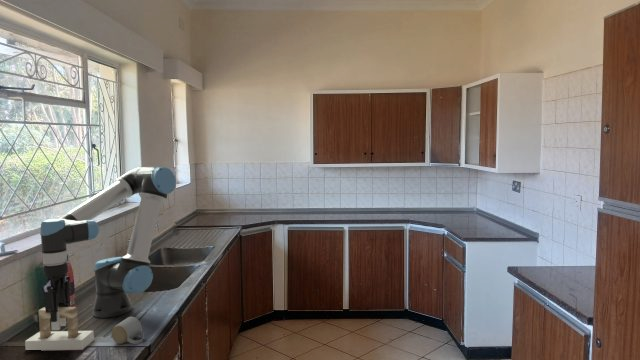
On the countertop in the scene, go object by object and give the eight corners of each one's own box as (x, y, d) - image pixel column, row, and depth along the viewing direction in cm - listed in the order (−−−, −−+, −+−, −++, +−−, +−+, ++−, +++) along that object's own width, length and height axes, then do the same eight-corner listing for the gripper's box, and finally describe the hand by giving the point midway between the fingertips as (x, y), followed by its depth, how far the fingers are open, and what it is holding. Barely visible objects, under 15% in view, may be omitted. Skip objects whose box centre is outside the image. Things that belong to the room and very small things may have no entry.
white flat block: (94, 339, 167) (93, 330, 166) (82, 349, 159) (81, 340, 158) (39, 340, 167) (39, 331, 166) (25, 350, 159) (25, 341, 158)
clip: (78, 336, 164) (76, 306, 163) (74, 340, 161) (72, 309, 160) (45, 337, 164) (43, 307, 163) (40, 340, 161) (38, 310, 160)
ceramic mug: (109, 344, 163) (108, 323, 162) (126, 334, 170) (125, 315, 170) (134, 348, 159) (133, 326, 159) (149, 338, 167) (148, 318, 167)
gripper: (57, 257, 168) (61, 319, 170) (29, 269, 152) (34, 337, 154) (77, 257, 168) (81, 319, 170) (52, 269, 152) (56, 336, 154)
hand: (59, 327), depth 162 cm, fingers closed on clip, 3 cm apart
